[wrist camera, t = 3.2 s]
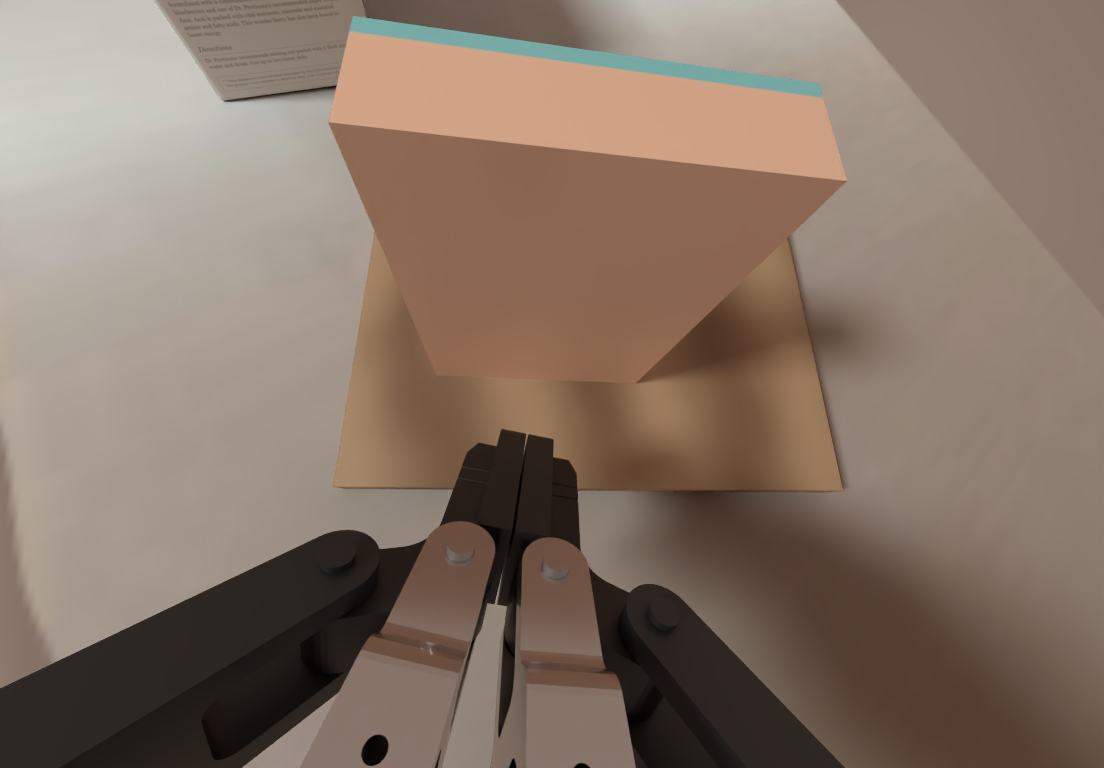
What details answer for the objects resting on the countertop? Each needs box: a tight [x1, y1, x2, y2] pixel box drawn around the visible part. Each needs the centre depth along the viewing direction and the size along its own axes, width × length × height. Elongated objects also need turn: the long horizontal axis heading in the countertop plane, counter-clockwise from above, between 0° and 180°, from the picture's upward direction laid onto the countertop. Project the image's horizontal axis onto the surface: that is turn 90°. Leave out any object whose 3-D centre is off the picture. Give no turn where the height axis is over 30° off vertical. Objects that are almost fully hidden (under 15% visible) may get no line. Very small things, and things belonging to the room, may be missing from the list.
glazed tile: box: [329, 16, 847, 384], centre depth 13 cm, size 9×2×12 cm, turn 90°
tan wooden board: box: [333, 233, 843, 492], centre depth 21 cm, size 22×22×1 cm
